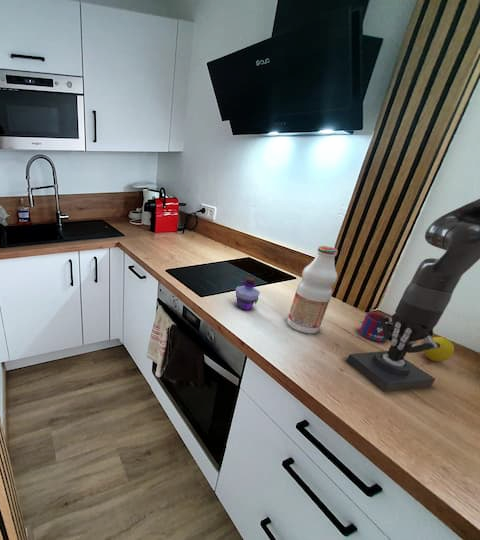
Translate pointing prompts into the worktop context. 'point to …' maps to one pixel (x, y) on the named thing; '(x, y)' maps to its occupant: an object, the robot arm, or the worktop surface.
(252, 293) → the potion bottle
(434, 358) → the lemon
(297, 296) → the fruit juice
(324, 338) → the worktop surface
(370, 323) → the mug
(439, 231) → the robot arm
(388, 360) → the flush button
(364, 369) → the flush plate
